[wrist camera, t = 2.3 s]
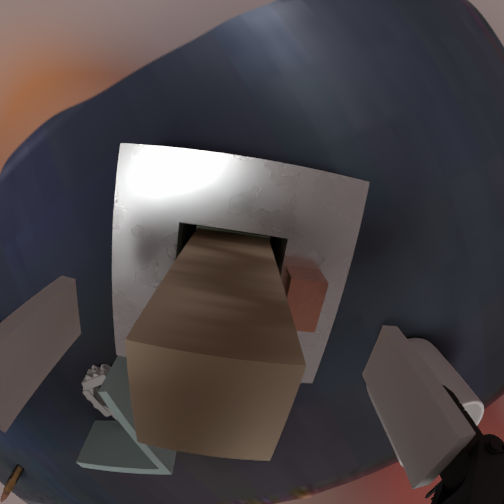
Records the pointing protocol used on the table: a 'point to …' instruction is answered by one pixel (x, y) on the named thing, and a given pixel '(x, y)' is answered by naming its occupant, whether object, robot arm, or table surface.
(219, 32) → the table surface
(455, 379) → the mug
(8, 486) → the ammunition clip
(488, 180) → the table surface
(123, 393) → the right angle wall
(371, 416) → the table surface
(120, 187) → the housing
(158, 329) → the column
